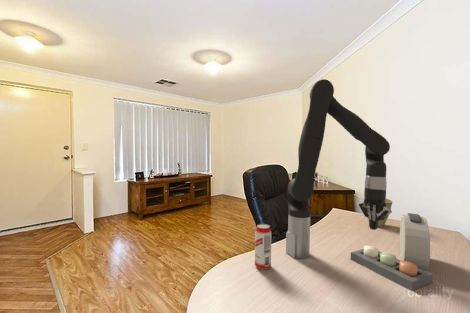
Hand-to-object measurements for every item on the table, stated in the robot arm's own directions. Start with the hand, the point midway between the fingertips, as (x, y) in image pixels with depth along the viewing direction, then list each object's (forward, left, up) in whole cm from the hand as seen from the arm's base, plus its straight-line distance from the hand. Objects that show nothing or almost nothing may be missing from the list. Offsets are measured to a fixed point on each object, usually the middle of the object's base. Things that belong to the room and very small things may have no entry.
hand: (373, 229), depth 93 cm
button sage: (-1, -7, -12) cm, 14 cm away
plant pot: (+46, +29, -14) cm, 57 cm away
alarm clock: (+15, -7, -14) cm, 22 cm away
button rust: (-1, -14, -12) cm, 18 cm away
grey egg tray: (-1, -7, -14) cm, 15 cm away
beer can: (-44, +14, -14) cm, 48 cm away
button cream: (-1, 0, -12) cm, 12 cm away
